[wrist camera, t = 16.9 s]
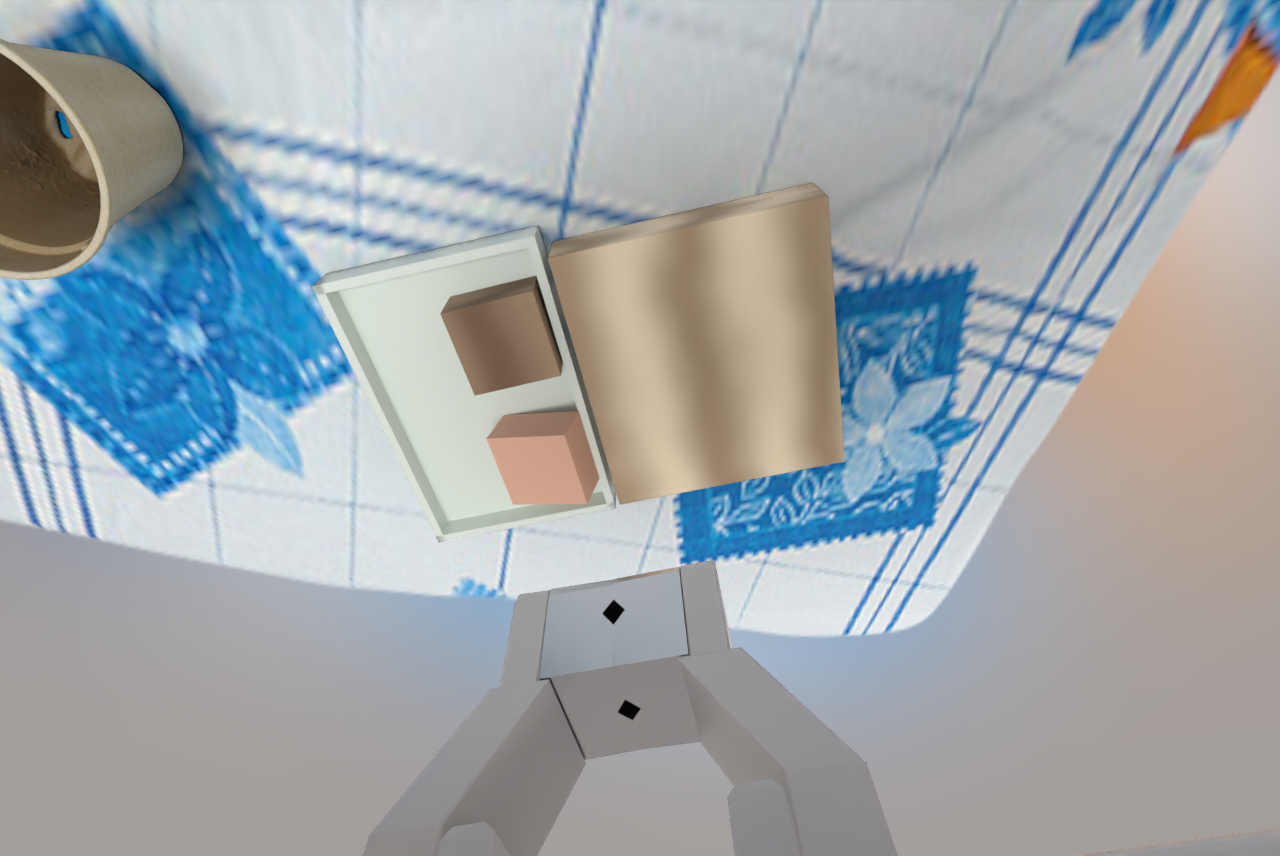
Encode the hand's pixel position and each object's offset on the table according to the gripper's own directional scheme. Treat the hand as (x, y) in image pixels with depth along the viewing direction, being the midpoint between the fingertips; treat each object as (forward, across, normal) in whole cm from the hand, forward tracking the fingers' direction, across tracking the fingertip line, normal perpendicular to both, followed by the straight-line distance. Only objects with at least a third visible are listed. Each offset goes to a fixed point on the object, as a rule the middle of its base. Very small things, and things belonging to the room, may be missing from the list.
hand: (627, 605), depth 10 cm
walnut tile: (+28, +8, +6) cm, 30 cm away
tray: (+29, +11, +10) cm, 32 cm away
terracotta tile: (+27, +8, +14) cm, 32 cm away
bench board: (+29, -3, +10) cm, 31 cm away
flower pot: (+29, +23, -8) cm, 38 cm away
